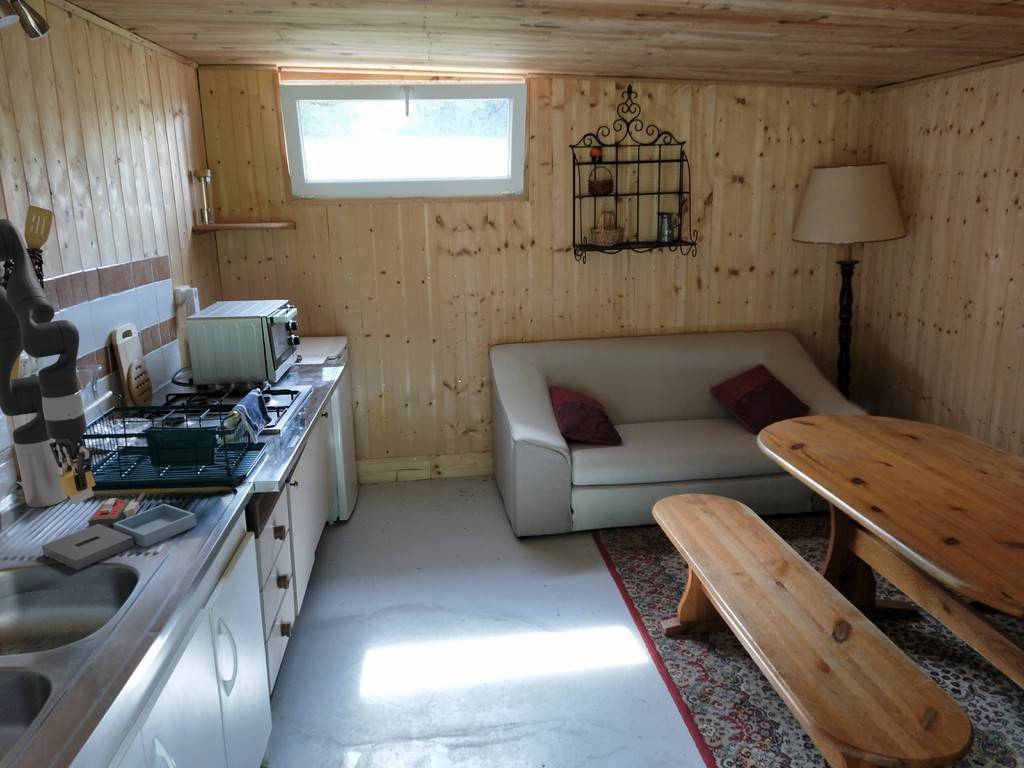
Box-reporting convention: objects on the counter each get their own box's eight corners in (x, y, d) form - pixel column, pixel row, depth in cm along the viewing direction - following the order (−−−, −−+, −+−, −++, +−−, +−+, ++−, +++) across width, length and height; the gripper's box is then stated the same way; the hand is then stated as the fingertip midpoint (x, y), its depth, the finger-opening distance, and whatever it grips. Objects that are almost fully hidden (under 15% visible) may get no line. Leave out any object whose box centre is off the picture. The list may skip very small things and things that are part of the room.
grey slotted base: (43, 554, 175) (41, 545, 174) (100, 532, 185) (98, 523, 185) (77, 570, 168) (75, 560, 167) (134, 545, 178) (132, 537, 177)
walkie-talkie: (125, 530, 187) (148, 498, 206) (122, 513, 186) (146, 482, 205) (86, 534, 186) (113, 501, 205) (83, 517, 184) (110, 485, 203)
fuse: (67, 504, 173) (57, 475, 170) (91, 492, 177) (82, 464, 174) (74, 506, 171) (65, 478, 169) (98, 495, 175) (89, 467, 173)
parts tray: (115, 535, 184) (113, 523, 183) (166, 514, 194) (164, 503, 193) (145, 547, 177) (143, 535, 176) (196, 525, 188) (194, 513, 187)
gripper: (29, 413, 169) (44, 488, 173) (64, 423, 161) (78, 500, 166) (64, 404, 175) (77, 476, 179) (99, 413, 167) (112, 488, 172)
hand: (78, 488), depth 173 cm, fingers closed on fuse, 2 cm apart
